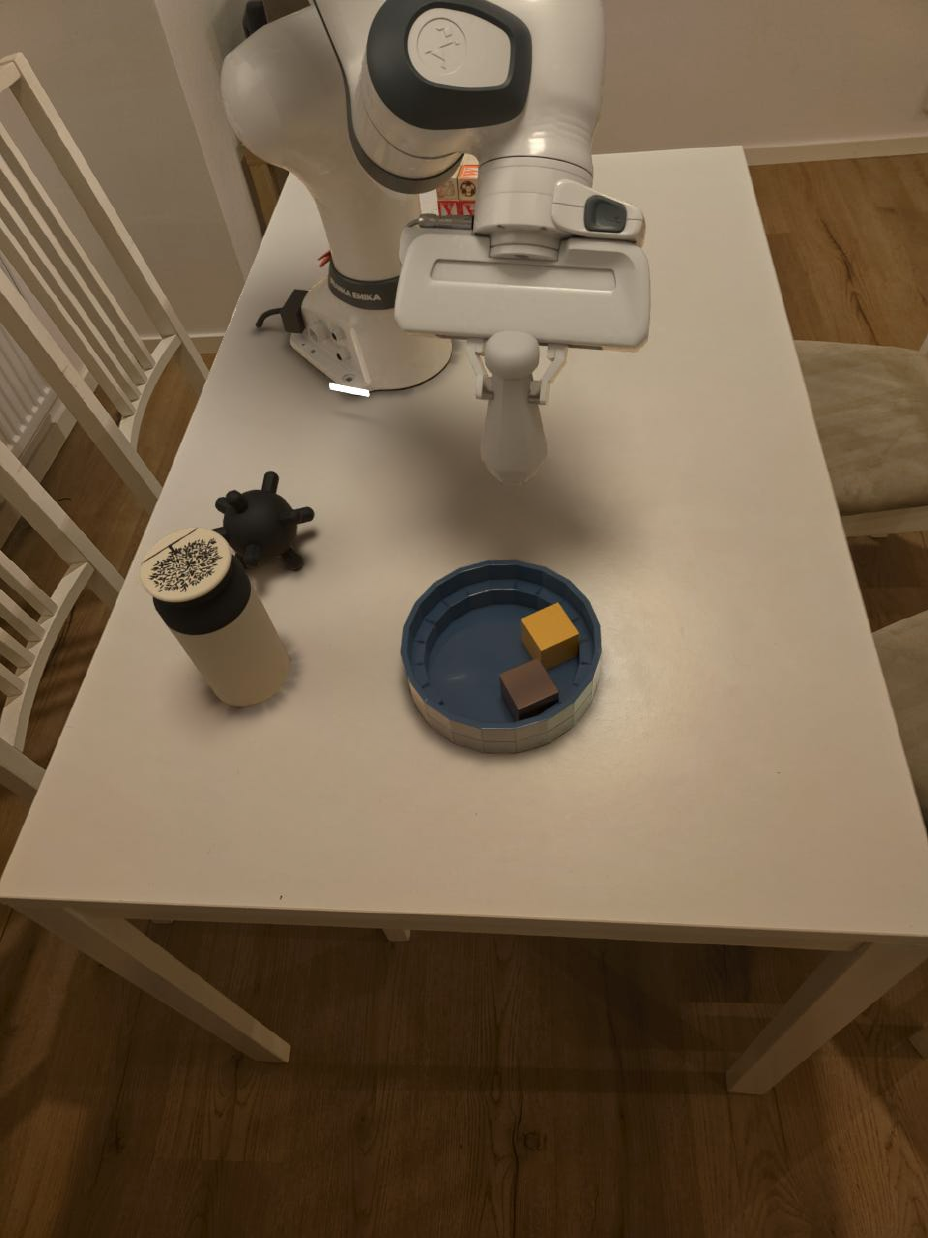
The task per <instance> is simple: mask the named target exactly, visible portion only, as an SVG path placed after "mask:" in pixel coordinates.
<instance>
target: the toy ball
mask: <svg viewBox="0 0 928 1238" xmlns="http://www.w3.org/2000/svg"><path fill="white" fill-rule="evenodd" d="M262 478H263V479H262V482H261V488H260V489H250V490H247V491H244V492H242V493H241V492H240V491H238V490H236V489H233V490H229V491H228V492H227V493H226V494H225V496H221V497H217V499H216V500H215V502H214V508H215V509H216V510H217V511H218V512H219V513H221V514H223V520H222V526H221V527H220V526H219V527H216V528H212V529H210V530H212V531H215V532H217V533H219V534H220V535H221V536H223V537H224V538H225V540H226V541H227V542H228V544H229V546H230V549H231V550H233V552H235V553H234V556H235V557H236V558H238V559H239V561H240V562H241V563H242V565H243V567H244V569H245V570H246V569H247V568H250V569H253V568H258V567H259V565H260V563H266V562H270V561H274V560H277V559H278V558H281V559H282V560H283V561H284V562H285V564H286V565H287V566H288V567H289V568H291V569H292V570H296V569H298V568H300V567H301V566H302V564H303V558H302V556H301V555H300V553H298V552H297V551H296V550H295V549H294V548H293V546H292V545H293V544H294V542H295V540H296V537H297V531H298V525H301V524H306V523H310V522H312V521H313V520H314V519H315V510H314V509H313V508H312V507H311V506H303V507H298V508H293V507H292V506H291V504H290V503H289V502H288V501H287V500H286V498H284V497H283V496H281V495H280V494H277V492H278V488H279V482H280V476H279V474H278V473H277V472H275V471H273V470H268V471H266V472H265V473H264V474H263V477H262Z"/></svg>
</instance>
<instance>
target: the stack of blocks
mask: <svg viewBox="0 0 928 1238" xmlns="http://www.w3.org/2000/svg"><path fill="white" fill-rule="evenodd" d="M478 167H479V162H478V160H477V159H476V157H474V156H473V155H470V154H464V157H463V159H462V162H461V164H460V166H459V168H458V169H457V171H456V172H455V174H454V175H453V176H452V177H451V178H450V179H449V180H448V181H447V182H446V183H445V184H443V185H442V186H440V187H439V188H437V189H435V195H436V203H437V204H436V205H437V214H438V215H441V216H442V215H474V213H475V202H476V191H477V180H478Z"/></svg>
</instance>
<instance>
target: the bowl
mask: <svg viewBox="0 0 928 1238" xmlns="http://www.w3.org/2000/svg"><path fill="white" fill-rule="evenodd" d="M556 603H559V605H560V606H561V607H562V609H563V610H564V612H565V613H566V615H567V616H568V618H569V619H570V621H571V622H572V623H573V625H574V626H575V628H576V629H577V631H578V632H579V646H578V656H576V657H574V658H572V659H570V660H568V661H565V662H563V663H561V664H559V665H557V666H555V667H553V668H550V669H548V670H546V671H547V673H548V674H549V676H550V678H551V679H552V681H553V683H554V684H555V686H556V688H557V689H558V691H559V702H558V703H556V704H555V705H553V706H551V707H550V708H548V709H547V710H545V711H544V712H542V713H541V714H539V715H537V716H534V717H530V718H527V719H523V720H520V721H516V722H515V720H514V719H513V717H512V715H511V713H510V711H509V709H508V708H507V706H506V704H505V702H504V700H503V699H502V697H501V690H500V680H499V675H500V674H502V673H504V672H507V671H509V670H511V669H513V668H516V667H518V666H520V665H522V664H525V663H527V662H529V661H532V660H533V659H532V657H531V655H530V654H529V652H528V651H527V649H526V647H525V646H524V644H523V643H522V632H521V619H522V618H525V617H527V616H529V615H531V614H534V613H536V612H538V611H540V610H542V609H545V608H547V607H549V606H551V605H553V604H556ZM400 643H401V644H400V656H401V660H402V665H403V668H404V671H405V676H406V678H407V683H408V687H409V690H410V693H411V697H412V700H413V703H414V705H415V707H416V708H417V710H418V711H419V712H420V714H421V715H422V717H423V718H424V720H425V721H426V722H427V724H428V725H429V727H431V728H432V729H433V730H435V731H436V732H438V734H440V735H442V736H443V737H445V738H446V739H448V740H449V741H451V742H452V743H453V744H455V745H458V746H462V747H465V748H468V749H471V750H474V751H478V752H481V753H484V754H485V753H486V754H519V753H522V752H526V751H528V750H529V751H530V750H532V749H536V748H540V747H543V746H545V745H548V744H550V743H551V742H553V741H554V740H555V739H557V738H559V737H560V736H561V735H563V734H565V733H566V732H568V731H569V730H571V729H572V728H573V727H574V726H575V725H576V724H577V723H578V721H579V720H580V719H581V718H582V716H583V715H584V714H585V712H586V711H587V710H588V708H589V707H590V706H591V704H592V702H593V699H594V696H595V692H596V689H597V686H598V683H599V680H600V671H601V664H602V654H603V647H602V646H603V645H602V628H601V623H600V621H599V619H598V616H597V614H596V612H595V610H594V608H593V605H592V603H591V601H590V599H589V598H588V597H587V596H586V595H585V594H584V593H583V592H582V591H581V590H580V589H579V588H578V587H577V586H576V584H574V582H573V581H572V580H570V579H569V578H567V577H565V576H564V575H561V574H560V573H558V572H557V571H555V570H553V569H551V568H549V567H548V566H545V565H540V564H537V563H532V562H528V561H525V560H521V559H486V560H483V561H482V560H481V561H479V562H475V563H472V564H467V565H464V566H461V567H457V568H456V569H455V570H453V571H451V572H449V573H448V574H446V575H444V576H442V577H441V578H439V579H437V580H436V581H434V582H433V583H432V584H431V585H430V586H429V587H428V588H427V589H426V590H425V591H424V592H423V594H421V595H420V596H419V597H418V598H417V599H416V601H415V602H414V603H413V605H412V607H411V610H410V612H409V613H408V615H407V617H406V619H405V622H404V624H403V626H402V633H401V642H400Z"/></svg>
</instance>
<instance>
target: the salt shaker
mask: <svg viewBox="0 0 928 1238" xmlns="http://www.w3.org/2000/svg"><path fill="white" fill-rule="evenodd" d="M540 355H541V353H540V346H539V344H538V341H537V340H536V339H535V338H534V337H533V336H532V335H531V334H528V333H525V332H521V331H501V332H497V333H495V334H494V335H493V336H492V337H491V338H490V339H489V340H488V341H487V342H486V348H485V356H484V366H485V368H486V369H487V370H488V371H489V372H490V374H491V377H492V380H491V386H492V390H493V391H494V396H493V400H487V401H488V402H487V409H486V414H485V420H484V426H483V432H482V437H481V443H480V456H481V457H480V458H481V459H482V461H483V464H485V466H486V468H487V469H488V471H489V472H490V474H491V475H492V476H493V477H495V478H496V479H497V480H498V481H499V482H500V483H501V484H503V485H525V484H526V483H527V482H528V481H530V479H532V478H533V477H534V476H535V475H536V474H537V473H538V472H539V470H540V469H541V466H542V465H543V464H544V462H545V460H546V458H547V456H548V442H547V438H546V432H545V428H544V424H543V419H542V415H541V410H540V405H535V404H530V403H528V394H529V393H530V390H529V385H530V382H531V380H534V376H533V374H534V372H535V370H536V369H537V368H538V366H539V365H540Z"/></svg>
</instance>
